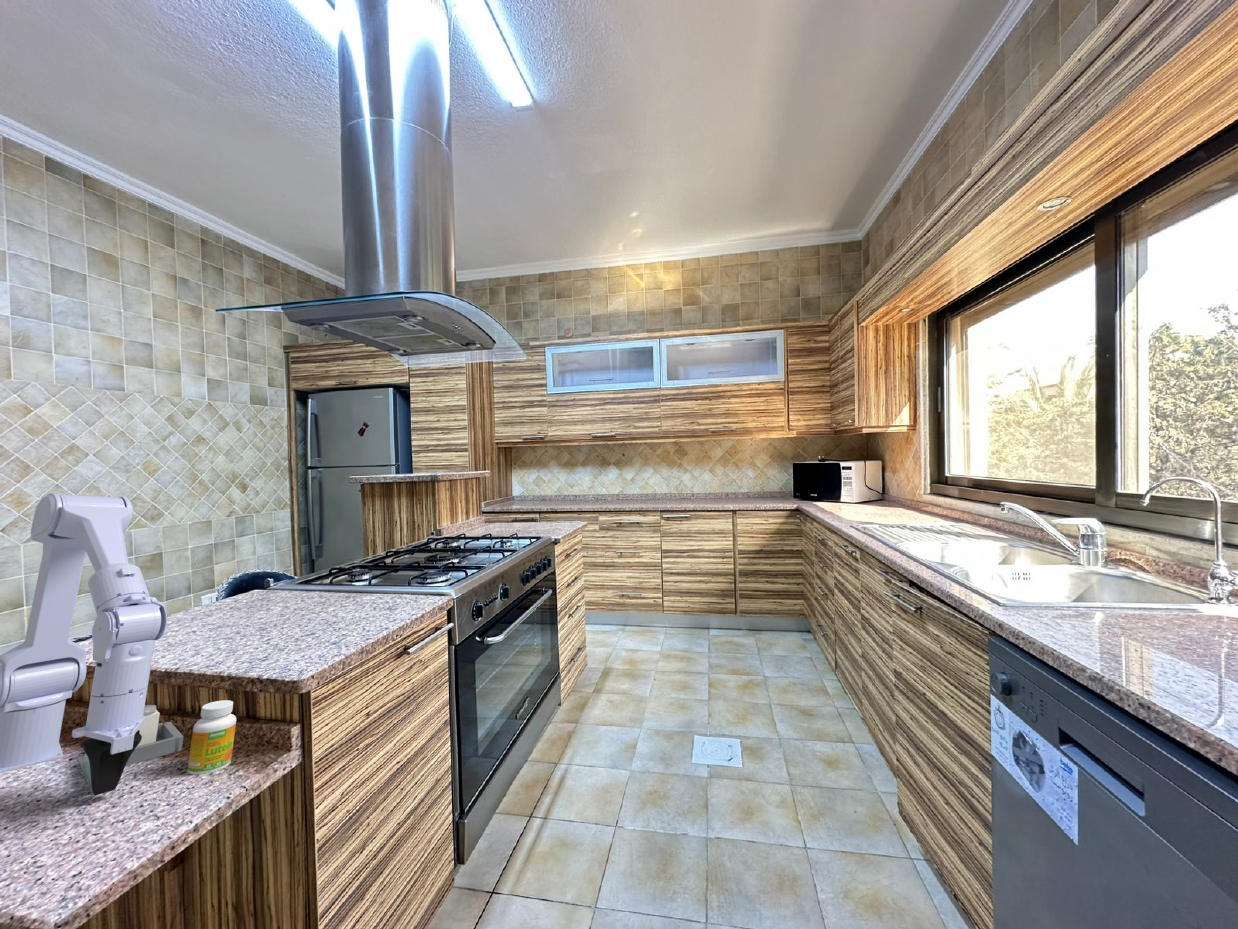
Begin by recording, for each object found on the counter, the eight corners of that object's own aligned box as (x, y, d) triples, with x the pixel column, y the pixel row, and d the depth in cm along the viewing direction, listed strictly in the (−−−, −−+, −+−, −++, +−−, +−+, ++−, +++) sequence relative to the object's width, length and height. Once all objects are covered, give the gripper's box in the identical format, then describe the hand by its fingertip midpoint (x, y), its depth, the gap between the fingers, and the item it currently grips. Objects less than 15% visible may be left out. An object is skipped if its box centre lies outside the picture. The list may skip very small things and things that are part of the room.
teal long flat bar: (81, 765, 75) (85, 743, 75) (94, 761, 76) (97, 740, 77) (93, 794, 67) (97, 770, 68) (107, 790, 68) (111, 766, 69)
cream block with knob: (116, 752, 79) (122, 709, 80) (149, 743, 82) (155, 702, 83) (120, 759, 77) (127, 715, 78) (154, 750, 80) (160, 708, 81)
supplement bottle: (201, 779, 73) (209, 713, 74) (178, 772, 74) (187, 707, 76) (238, 763, 78) (246, 701, 79) (217, 757, 79) (224, 696, 81)
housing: (76, 758, 78) (79, 742, 78) (167, 735, 87) (169, 721, 87) (91, 797, 67) (94, 779, 67) (193, 767, 76) (196, 750, 76)
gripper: (72, 685, 69) (55, 785, 68) (85, 711, 61) (66, 825, 59) (139, 674, 75) (125, 765, 73) (160, 696, 66) (144, 800, 65)
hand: (104, 791), depth 67 cm, fingers closed
